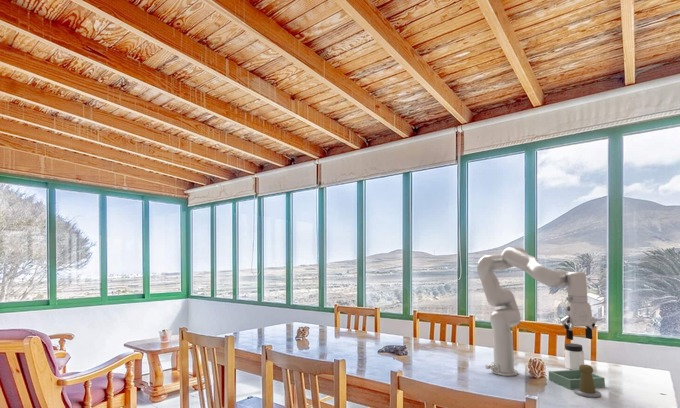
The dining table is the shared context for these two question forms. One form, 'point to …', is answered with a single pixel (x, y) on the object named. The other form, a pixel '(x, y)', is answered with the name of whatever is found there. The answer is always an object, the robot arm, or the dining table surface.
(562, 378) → the green tray
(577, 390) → the mat
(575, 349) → the jar
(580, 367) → the cork
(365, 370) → the dining table surface
